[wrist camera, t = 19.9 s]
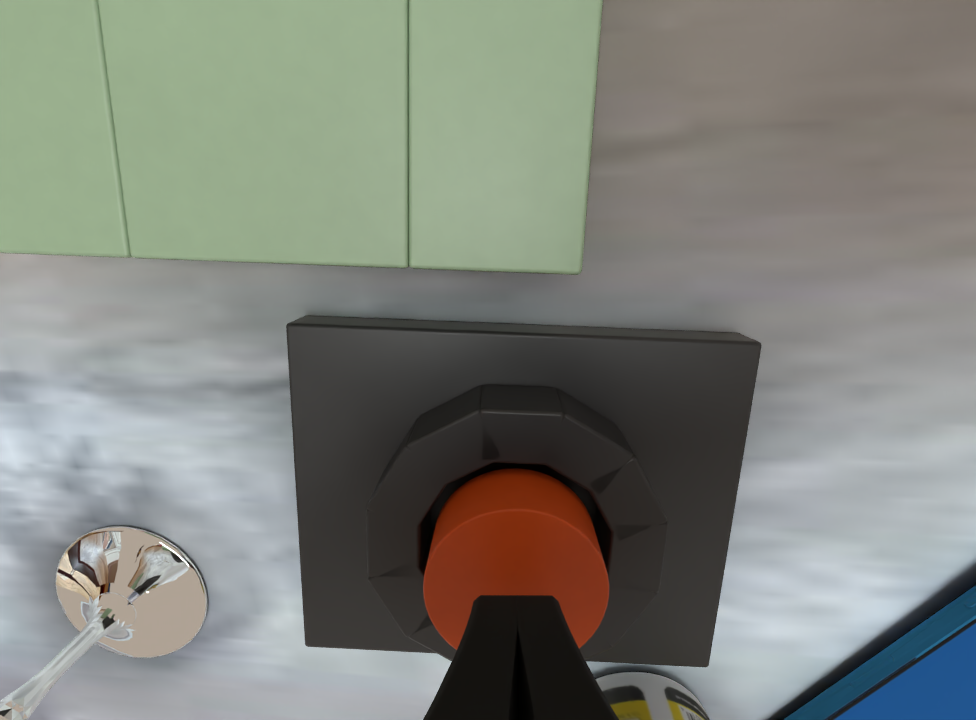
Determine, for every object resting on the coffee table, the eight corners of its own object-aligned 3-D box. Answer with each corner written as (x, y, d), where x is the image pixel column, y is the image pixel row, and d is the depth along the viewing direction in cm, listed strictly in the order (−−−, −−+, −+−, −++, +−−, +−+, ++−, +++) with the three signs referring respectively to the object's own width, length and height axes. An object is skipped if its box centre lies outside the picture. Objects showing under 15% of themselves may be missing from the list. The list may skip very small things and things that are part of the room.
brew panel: (740, 332, 13) (808, 361, 10) (693, 635, 15) (738, 731, 12) (303, 315, 13) (247, 339, 10) (319, 616, 16) (276, 705, 13)
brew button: (600, 471, 11) (618, 514, 10) (587, 613, 12) (601, 674, 11) (435, 463, 11) (423, 504, 10) (433, 605, 12) (422, 665, 11)
